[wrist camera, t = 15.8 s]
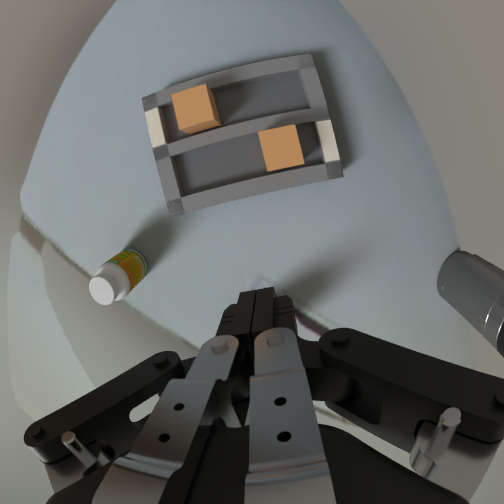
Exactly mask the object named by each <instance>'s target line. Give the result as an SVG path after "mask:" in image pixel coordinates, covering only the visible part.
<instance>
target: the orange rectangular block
mask: <svg viewBox="0 0 504 504" xmlns="http://www.w3.org/2000/svg"><path fill="white" fill-rule="evenodd" d="M258 135H259V139H260V143H261V147H262V151H263V155H264V159H265V164H266V168H267V171H273V170H277V169H282V168H287V167H292V166H297V165H302V164H304V159H303V155H302V151H301V147H300V142H299V138H298V134H297V130H296V127H295V124H294V125H288V126H283V127H278V128H273V129H269V130H264V131H260V132H258Z"/></svg>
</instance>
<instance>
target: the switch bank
mask: <svg viewBox="0 0 504 504" xmlns="http://www.w3.org/2000/svg"><path fill="white" fill-rule="evenodd" d="M202 84H206V85H207V86H208V88H209V89H210V90H211V91H212V93H213V94H214V98H215V102H216V106H217V110H218V113H219V117H220V121H221V125H222V126H218V127H214V128H211V129H207V130H204V131H201V132H197V133H194V134H189V133H186V132H183V131H181V130H179V127H178V122H177V118H176V114H175V110H174V105H173V101H172V96H171V95H172V94H175V93H178V92H181V91H184V90H187V89H190V88H193V87H196V86H199V85H202ZM142 102H143V107H144V112H145V117H146V121H147V126H148V131H149V135H150V139H151V144H152V148H153V152H154V156H155V160H156V164H157V168H158V172H159V176H160V180H161V184H162V188H163V191H164V195H165V199H166V202H167V206H168V209H169V213H170V216H171V217H172V216H176V215H179V214H183V213H187V212H190V211H194V210H198V209H202V208H206V207H209V206H213V205H217V204H221V203H225V202H229V201H233V200H238V199H242V198H246V197H250V196H254V195H259V194H263V193H268V192H272V191H277V190H281V189H286V188H290V187H295V186H300V185H305V184H310V183H315V182H320V181H325V180H330V179H336V178H341V177H344V175H343V170H342V166H341V161H340V156H339V152H338V147H337V143H336V139H335V134H334V130H333V126H332V122H331V119H330V115H329V111H328V107H327V104H326V100H325V97H324V93H323V90H322V86H321V83H320V80H319V77H318V73H317V70H316V67H315V64H314V61H313V58H312V55H311V54H304V55H297V56H290V57H283V58H277V59H272V60H266V61H261V62H256V63H251V64H247V65H242V66H238V67H234V68H230V69H226V70H222V71H219V72H215V73H212V74H208V75H205V76H202V77H198V78H195V79H192V80H189V81H186V82H183V83H180V84H177V85H174V86H172V87H169V88H166V89H163V90H161V91H158V92H156V93H153V94H151V95H148V96H146V97H143V98H142ZM294 124H295V127H296V130H297V134H298V138H299V142H300V147H301V151H302V155H303V159H304V164H302V165H297V166H292V167H287V168H282V169H277V170H273V171H267V168H266V164H265V159H264V155H263V151H262V147H261V143H260V139H259V135H258V132H260V131H264V130H269V129H273V128H278V127H283V126H288V125H294Z"/></svg>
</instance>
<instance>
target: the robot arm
mask: <svg viewBox="0 0 504 504" xmlns="http://www.w3.org/2000/svg"><path fill="white" fill-rule="evenodd" d="M437 286H438V292H439V294H440V296H441V297H442V298H443V299H445V300H446V301H447V302H448V303H449V304H450V305H451V306H452V307H453V308H454V309H455V310H456V311H457V312H459V313H460V314H461V315H462V316H463V317H464V318H465V319H466V320H467V321H468V322H469V323H470V324H471V325H472V326H473V327H474V328H475V329H476V330H477V331H478V332H479V333H481V335H483V337H484V338H485V339H486V340H487V341H488V342H489V343H491V345H492V346H493V347H494V348H495V349H496V350H497V351H498V352H499V353H500V354H501V355H502V356H503V357H504V271H503V270H502V269H500V268H498V267H497V266H495V265H493V264H491V263H490V262H488V261H486V260H484V259H483V258H481V257H479V256H477V255H475V254H473V255H472V254H470V253H468V252H465V251H458V252H455V253H454V254H452V255H451V256H450V257H448V259H447V260H446V261H445V262H444V264H443V266H442V268H441V270H440V272H439V276H438V282H437ZM155 394H158V396H159V397H160V398H159V400H158V402H157V404H156V405H155V407H154V409H153V411H152V413H150V414H149V415H147V416H146V417H144V418H143V419H141V420H139V421H137V422H131V420H130V418H129V414H130V411H131V410H132V409H133V408H135V407H136V406H138V405H140V404H141V403H143V402H144V401H146V400H147V399H149V398H150V397H152V396H154V395H155ZM312 400H315V401H325V404H326V406H327V407H328V408H329V409H331V410H332V411H334V412H336V413H337V414H339V415H340V416H342V417H344V418H346V419H347V420H349V421H351V422H352V423H354V424H356V425H358V426H359V427H361V428H363V429H365V430H366V431H368V432H370V433H372V434H374V435H375V436H378V437H379V438H381V439H383V440H385V441H387V442H389V443H390V444H392V445H394V446H396V447H398V448H400V449H403V450H404V451H407V452H408V453H410V458H409V460H410V465H411V467H412V469H413V470H414V471H415V472H417V473H418V474H419V475H418V474H417V473H415V472H413V471H411V470H409V469H407V468H406V467H404V466H402V465H400V464H399V463H397V462H395V461H393V460H391V459H390V458H388V457H387V456H385V455H383V454H381V453H380V452H378V451H377V450H375V449H373V448H372V447H370V446H368V445H367V444H365V443H364V442H362V441H361V440H359V439H358V438H356V437H354V436H353V435H351V434H350V433H348V432H345V431H344V430H341V429H339V428H336V427H333V426H329V425H323V424H318V422H317V418H316V414H315V409H314V405H313V401H312ZM503 441H504V379H502V378H499V377H496V376H492V375H489V374H485V373H482V372H478V371H475V370H472V369H469V368H466V367H462V366H459V365H456V364H453V363H450V362H447V361H444V360H440V359H437V358H434V357H431V356H428V355H425V354H422V353H419V352H416V351H413V350H410V349H408V348H405V347H402V346H399V345H396V344H393V343H390V342H387V341H385V340H382V339H379V338H376V337H373V336H371V335H368V334H365V333H362V332H360V331H357V330H354V329H351V328H337V329H333V330H330V331H328V332H326V333H324V334H323V335H322V336H321V337H320V339H319V341H307V340H304V339H302V338H300V337H299V336H298V330H297V324H296V318H295V313H294V307H293V302H292V299H291V298H290V297H288V296H287V295H285V296H279V297H276V294H275V290H274V287H269V288H263V289H257V290H252V291H246V292H240V295H239V298H238V302H237V304H231V305H230V306H229V307H228V308H227V309H225V310H224V313H223V315H222V319H221V321H220V324H219V327H218V330H217V333H216V336H215V337H214V338H211V339H209V340H208V341H206V342H205V343H204V344H203V345H202V346H201V348H200V350H199V352H198V354H197V356H196V357H193V358H189V359H186V360H182V361H181V360H180V357H179V355H178V354H177V353H175V352H173V351H163V352H160V353H157V354H155V355H153V356H151V357H149V358H148V359H146V360H144V361H143V362H141V363H139V364H138V365H136V366H134V367H133V368H131V369H129V370H128V371H126V372H124V373H123V374H121V375H119V376H117V377H116V378H114V379H112V380H110V381H109V382H107V383H105V384H103V385H102V386H100V387H98V388H96V389H95V390H93V391H91V392H89V393H88V394H86V395H84V396H82V397H80V398H79V399H77V400H75V401H73V402H71V403H70V404H68V405H66V406H64V407H62V408H60V409H59V410H57V411H55V412H53V413H51V414H49V415H47V416H45V417H44V418H42V419H40V420H38V421H36V422H34V423H33V424H31V425H30V426H29V427H28V428H27V430H26V432H25V434H24V442H25V444H26V445H27V446H28V447H29V448H30V449H31V450H32V451H33V452H34V453H35V454H36V455H37V456H38V457H39V459H40V460H41V461H42V462H43V463H44V464H45V467H46V470H47V473H48V476H49V479H50V482H51V485H52V488H53V490H54V493H55V494H54V495H53V496H52V497H50V499H49V500H48V501H47V503H46V504H469V501H470V499H471V498H472V496H473V494H474V493H475V491H476V489H477V488H478V486H479V484H480V482H481V481H482V479H483V477H484V475H485V473H486V472H487V470H488V468H489V466H490V464H491V462H492V460H493V458H494V455H495V453H496V451H497V449H498V448H499V447H500V445H501V444H502V442H503ZM420 475H421V476H420Z"/></svg>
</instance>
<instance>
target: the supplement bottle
mask: <svg viewBox="0 0 504 504" xmlns="http://www.w3.org/2000/svg"><path fill="white" fill-rule="evenodd" d="M146 272H147V265H146V262H145V259H144V258H143V256H142V255H141V254H140V253H139V252H137V251H135V250H132V249H126V250H124V251H122V252H120V253H119V254H117V255H116V256H114V257H113V258H111V259H110V260H108V261H107V262H105V263H104V264H102V265H101V266H100V267H99V268H98V270H97V271H96V275H95V277H94V278H92V280H91V281H90V284H89V289H90V293H91V295H92V297H93V298H94V299H95V300H96V301H97V302H98V303H100V304H102V305H109V304H111V303H112V302H113V301H117V300H121V299H123V298H124V297H125V296H126V295H127V294H128V293H129V292H130V291H131V290H132V289H133V288H134V287H135V286H136V285H137V284H138V283H139V282H140V281H141V280H142V279H143V278H144V277H145V275H146Z"/></svg>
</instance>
